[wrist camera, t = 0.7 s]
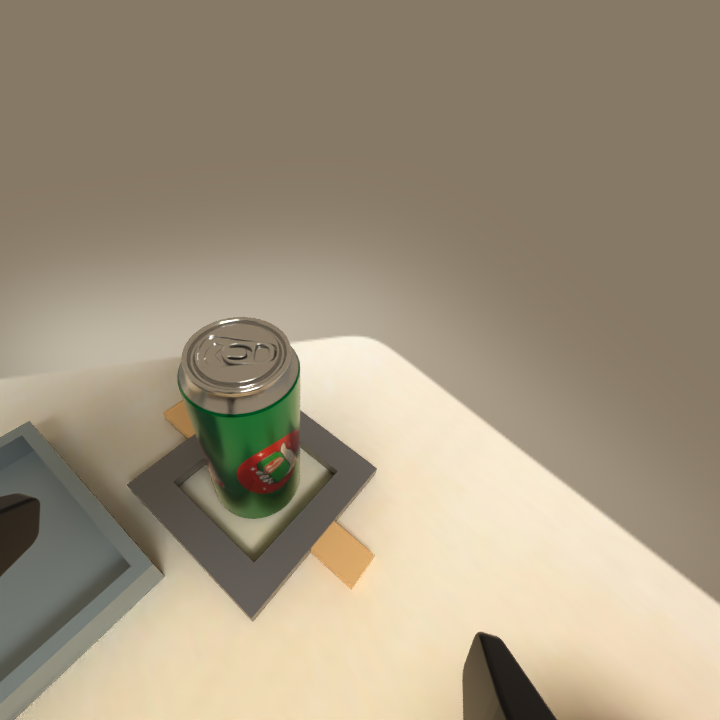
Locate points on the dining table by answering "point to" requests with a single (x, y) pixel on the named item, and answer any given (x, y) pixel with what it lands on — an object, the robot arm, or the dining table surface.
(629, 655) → the dining table surface
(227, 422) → the soda can
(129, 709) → the dining table surface
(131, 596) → the parts tray
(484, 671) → the robot arm
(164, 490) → the grey rectangular frame
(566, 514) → the dining table surface
